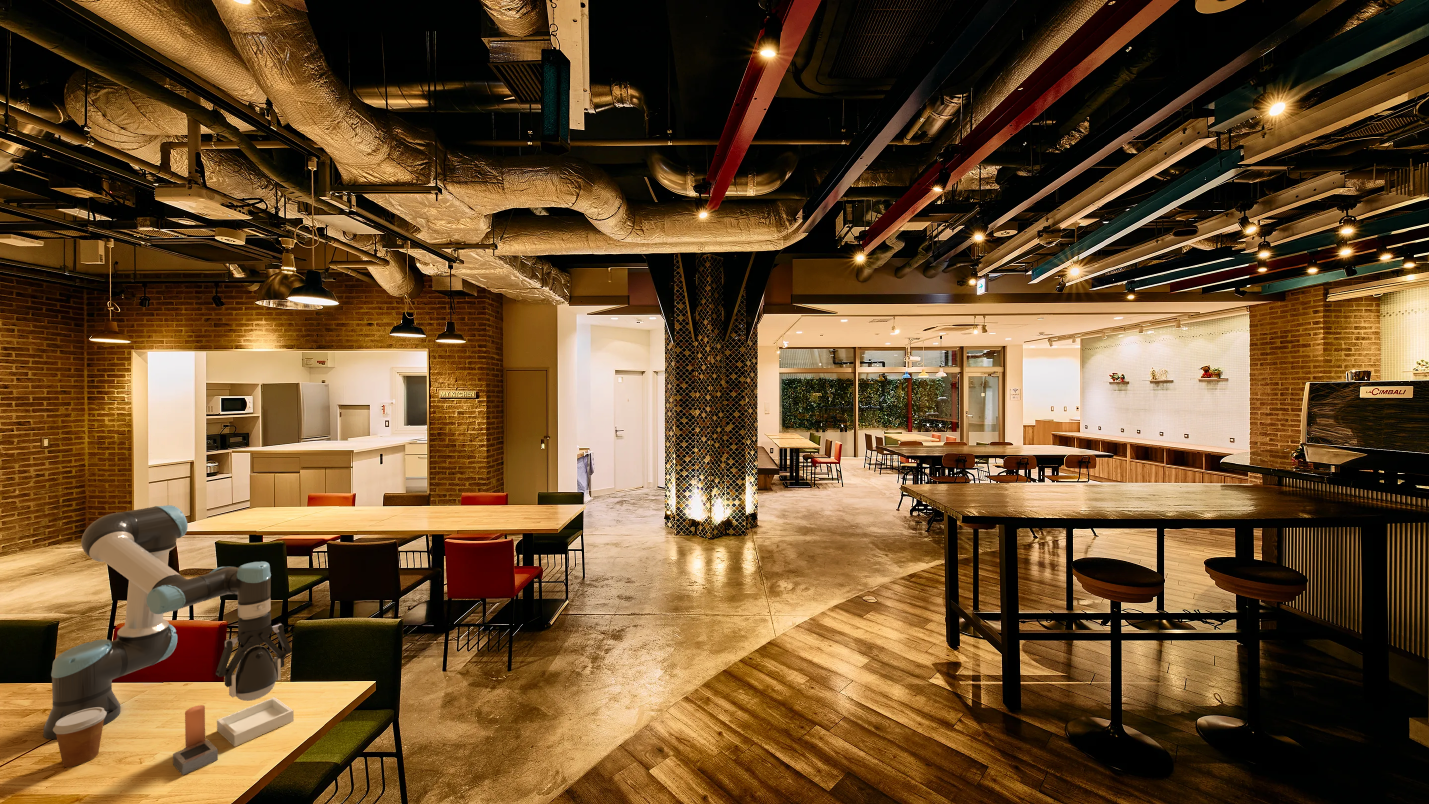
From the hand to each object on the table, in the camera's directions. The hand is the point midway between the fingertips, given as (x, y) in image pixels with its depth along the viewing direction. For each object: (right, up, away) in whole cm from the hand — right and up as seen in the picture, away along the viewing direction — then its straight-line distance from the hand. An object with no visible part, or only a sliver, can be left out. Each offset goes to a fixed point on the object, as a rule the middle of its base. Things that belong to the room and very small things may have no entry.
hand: (255, 686), depth 160 cm
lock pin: (-8, -12, -10) cm, 18 cm away
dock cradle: (0, -12, 0) cm, 12 cm away
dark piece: (0, -3, 0) cm, 3 cm away
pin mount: (-3, -12, -16) cm, 20 cm away
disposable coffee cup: (-36, -12, -15) cm, 40 cm away
